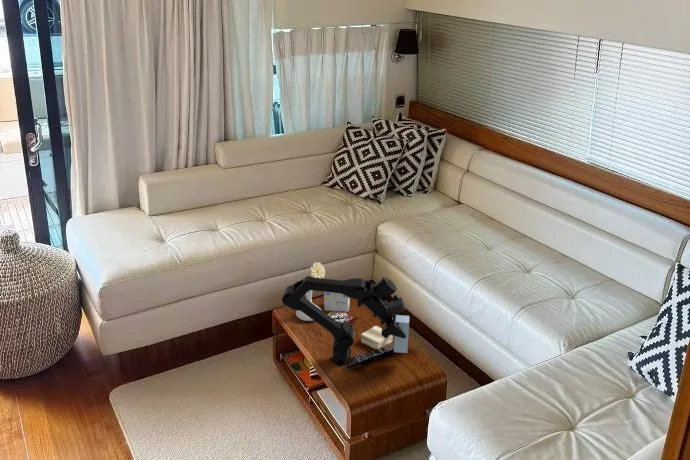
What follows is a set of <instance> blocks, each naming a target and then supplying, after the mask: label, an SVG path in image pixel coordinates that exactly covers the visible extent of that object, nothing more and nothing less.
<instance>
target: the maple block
mask: <svg viewBox="0 0 690 460" xmlns="http://www.w3.org/2000/svg"><path fill="white" fill-rule="evenodd" d="M381 333H382V327H380V326H379V325H374V326H372V327H371V328H369V329H368V330H366V331H364V332H362V333H361V334H360V336H361V337H360V343H362V344H364V345H366V346H368V347H371V348H372V349H374V348H375V349H374V350H376V349H379V348H381V347H383V346H385V345H386V346H388V345H390V344H391V343H392V342H393V343H394V336H393V335H390V336H388V337H387V338H384V337H383V336H382V335H381ZM387 344H388V345H387ZM386 346H385V347H386ZM383 348H384V347H383Z"/></svg>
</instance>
